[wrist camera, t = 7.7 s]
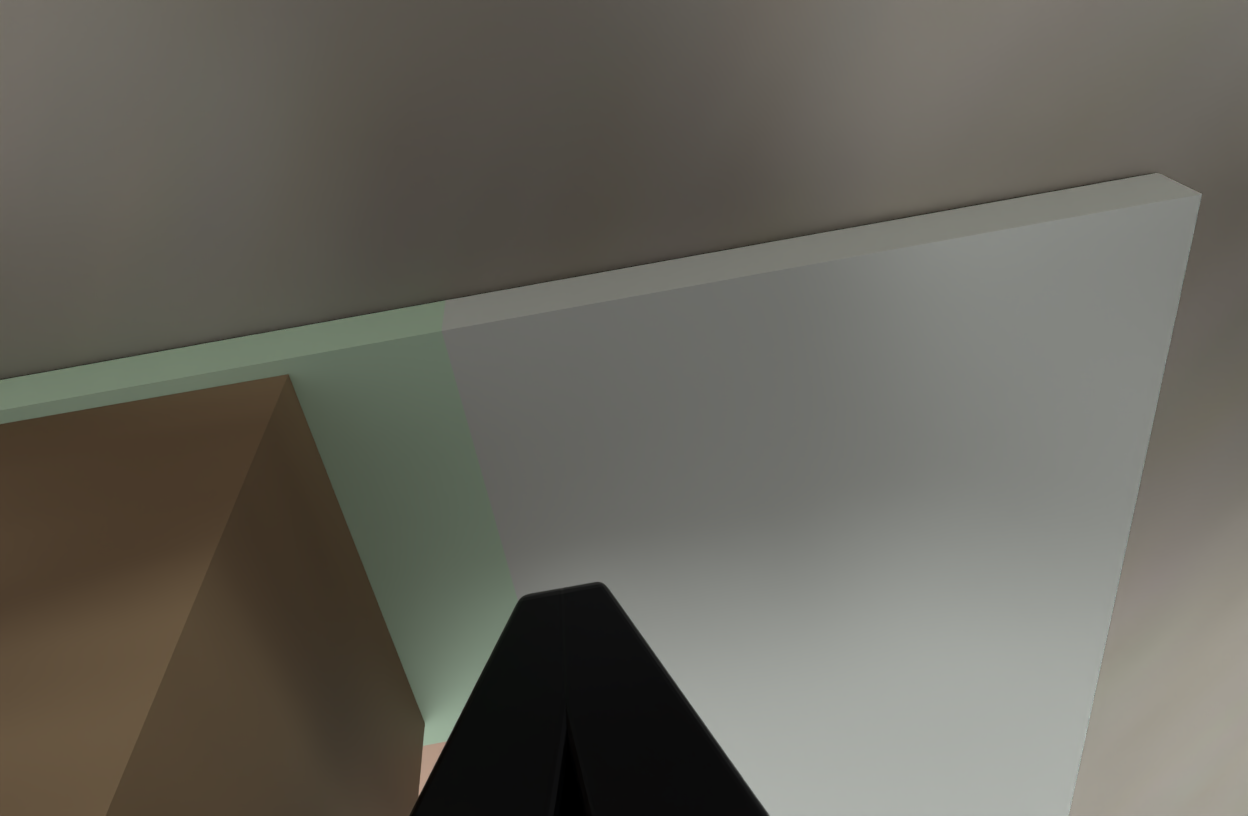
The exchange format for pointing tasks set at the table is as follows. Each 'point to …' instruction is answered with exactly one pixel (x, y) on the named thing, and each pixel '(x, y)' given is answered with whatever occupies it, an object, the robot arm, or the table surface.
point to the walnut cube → (191, 619)
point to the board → (768, 480)
